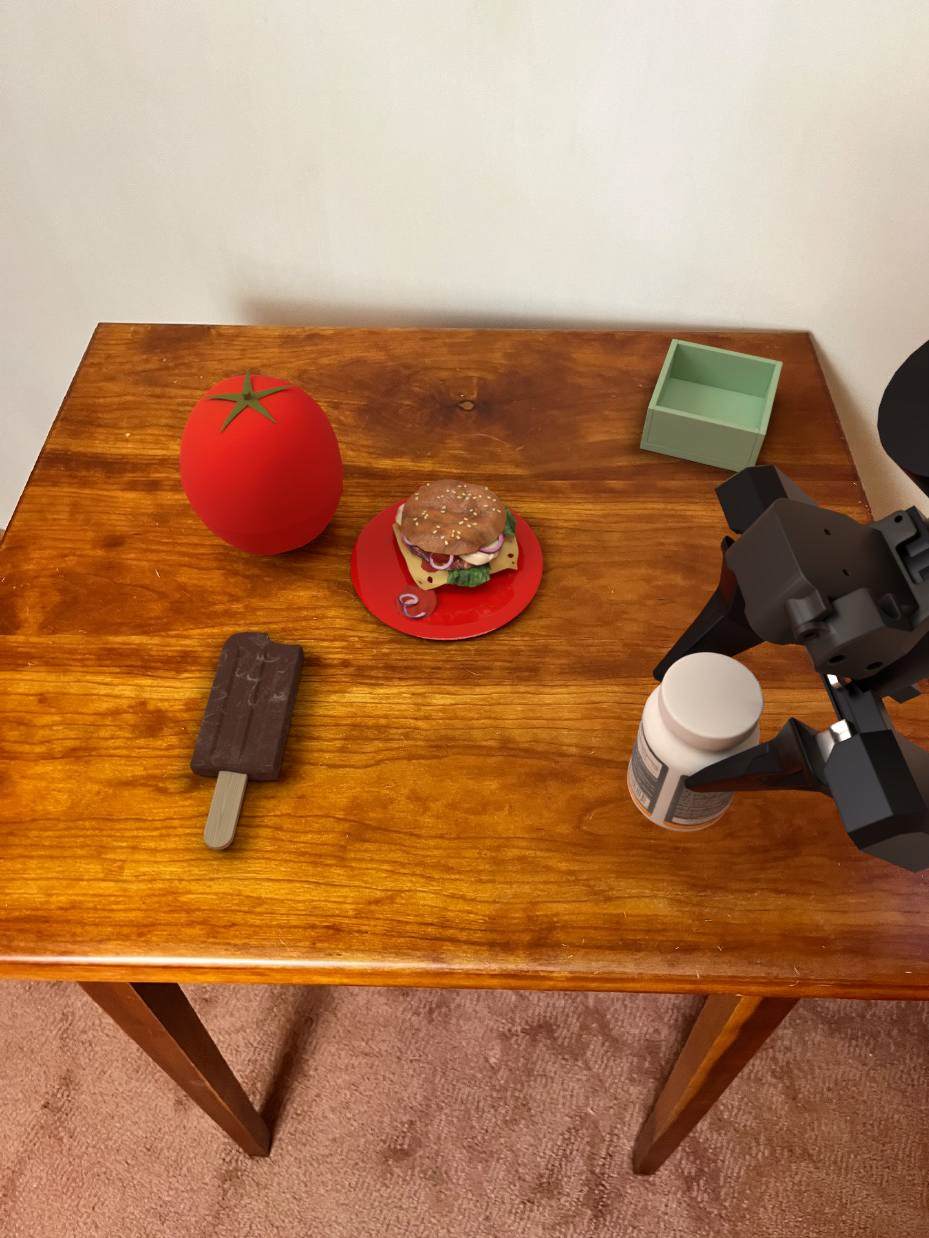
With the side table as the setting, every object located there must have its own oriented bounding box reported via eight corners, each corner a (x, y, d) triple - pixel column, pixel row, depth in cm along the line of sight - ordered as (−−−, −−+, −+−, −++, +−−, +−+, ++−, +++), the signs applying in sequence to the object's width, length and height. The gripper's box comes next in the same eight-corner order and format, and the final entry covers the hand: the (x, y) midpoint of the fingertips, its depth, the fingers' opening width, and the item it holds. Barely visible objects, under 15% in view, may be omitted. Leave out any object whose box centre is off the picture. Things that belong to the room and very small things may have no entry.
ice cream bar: (262, 857, 54) (307, 646, 63) (257, 846, 52) (303, 633, 61) (174, 850, 54) (231, 642, 63) (167, 839, 53) (226, 628, 61)
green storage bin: (768, 403, 77) (783, 361, 73) (751, 475, 72) (765, 434, 68) (663, 379, 79) (672, 338, 75) (639, 448, 74) (648, 407, 70)
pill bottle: (741, 762, 51) (790, 665, 43) (713, 852, 48) (760, 767, 40) (642, 725, 52) (672, 626, 44) (610, 811, 49) (635, 720, 41)
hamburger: (332, 518, 69) (321, 461, 65) (505, 477, 72) (508, 419, 67) (378, 665, 62) (370, 612, 57) (571, 613, 64) (579, 559, 59)
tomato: (343, 590, 65) (319, 460, 55) (193, 585, 66) (141, 456, 55) (360, 477, 72) (341, 342, 62) (224, 473, 72) (183, 338, 62)
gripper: (815, 311, 37) (531, 521, 45) (1040, 712, 26) (611, 891, 34) (926, 438, 44) (662, 600, 52) (1140, 797, 33) (763, 929, 41)
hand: (672, 730), depth 45 cm, fingers closed on pill bottle, 6 cm apart
